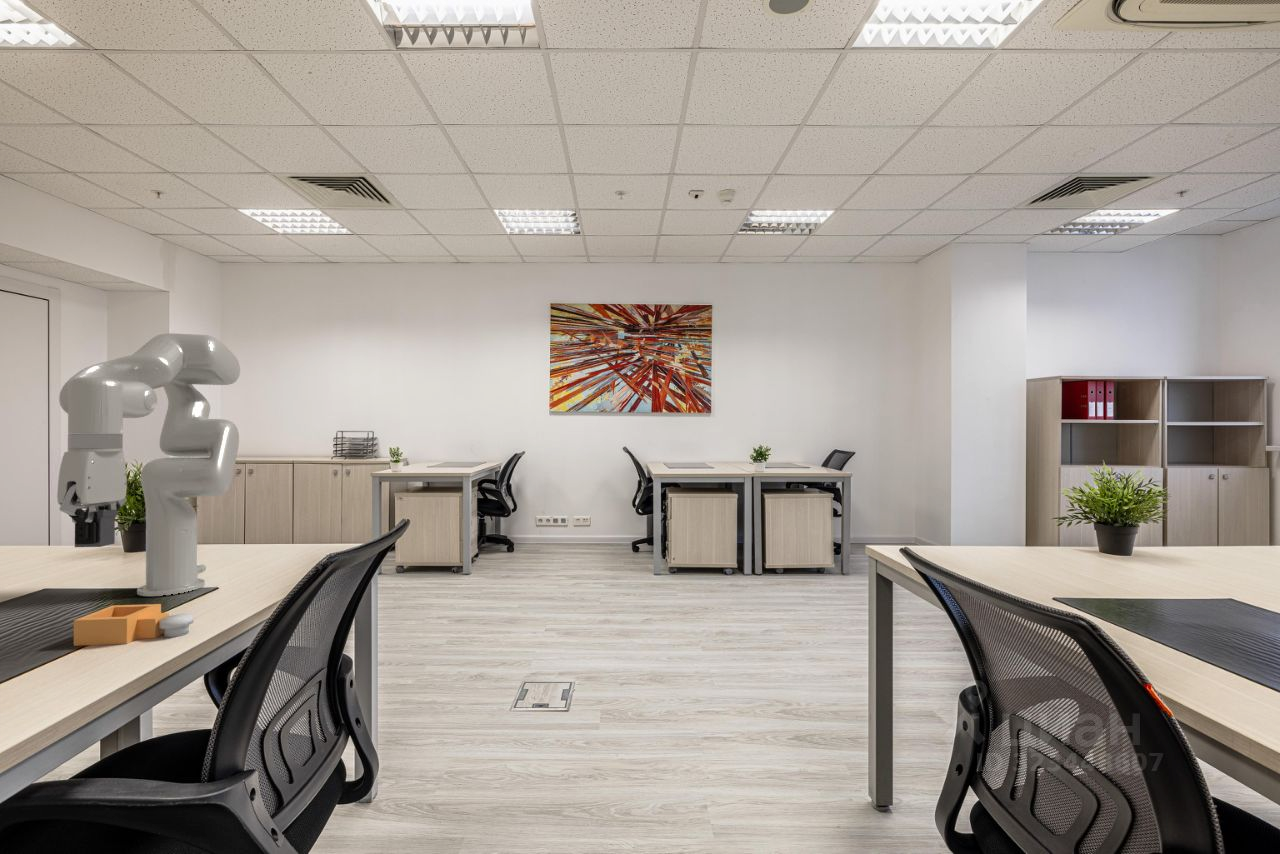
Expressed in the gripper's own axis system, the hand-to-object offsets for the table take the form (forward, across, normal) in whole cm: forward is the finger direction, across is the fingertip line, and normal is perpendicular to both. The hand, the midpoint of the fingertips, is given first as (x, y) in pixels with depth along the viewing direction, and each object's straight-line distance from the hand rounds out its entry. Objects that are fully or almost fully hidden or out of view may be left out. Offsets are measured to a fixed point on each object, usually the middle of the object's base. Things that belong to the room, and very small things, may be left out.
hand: (94, 540), depth 108 cm
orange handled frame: (+17, +1, +9) cm, 20 cm away
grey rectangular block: (+1, 0, 0) cm, 1 cm away
